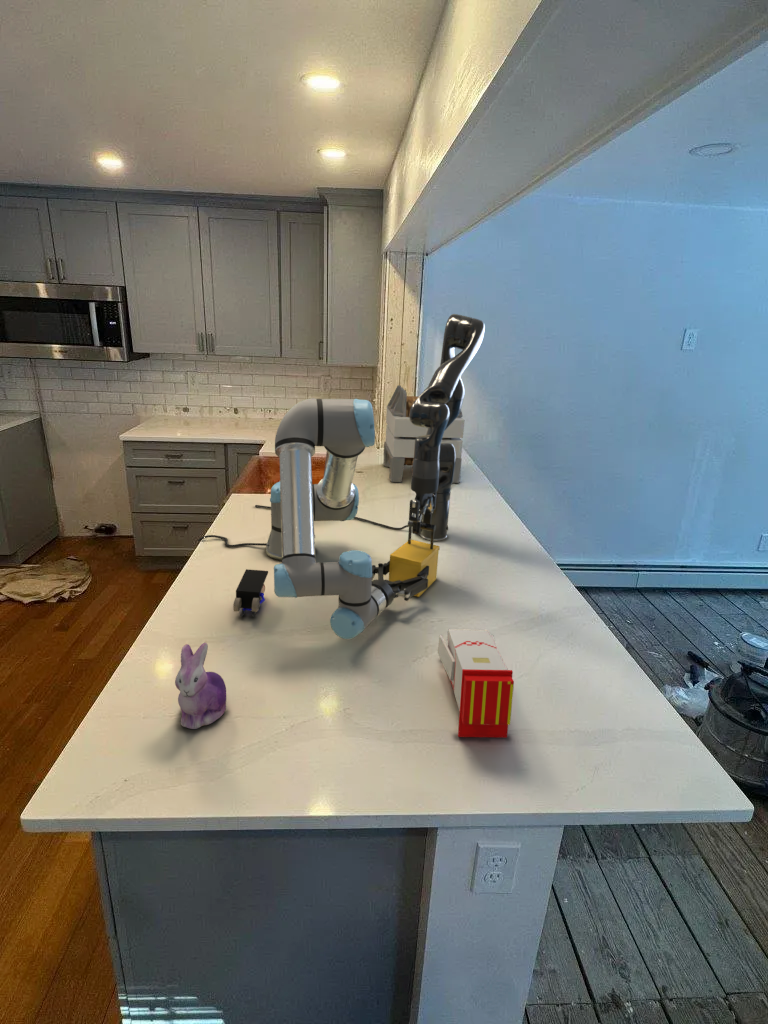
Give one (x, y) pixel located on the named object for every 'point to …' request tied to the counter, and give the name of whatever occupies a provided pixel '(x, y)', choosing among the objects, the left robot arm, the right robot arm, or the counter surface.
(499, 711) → the toy
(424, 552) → the yellow handled panel
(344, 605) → the left robot arm
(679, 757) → the counter surface
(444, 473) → the right robot arm
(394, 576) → the chest
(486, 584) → the counter surface
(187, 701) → the figurine
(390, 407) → the grey storage bin
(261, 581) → the figurine character
